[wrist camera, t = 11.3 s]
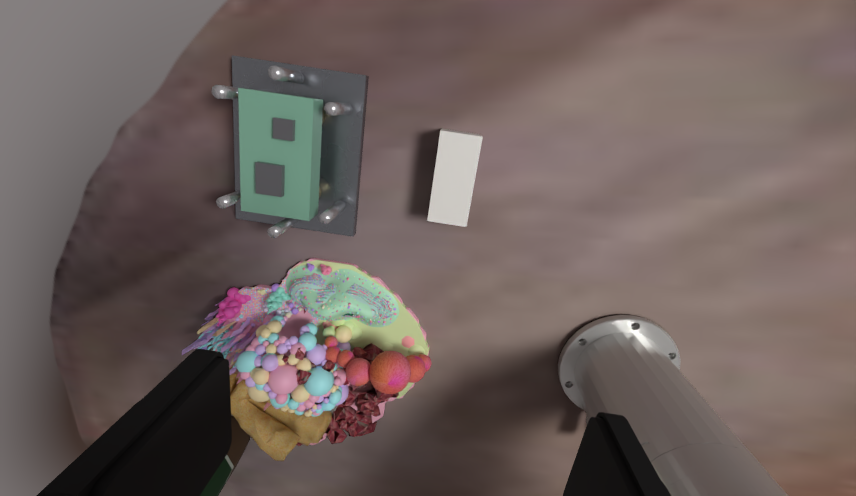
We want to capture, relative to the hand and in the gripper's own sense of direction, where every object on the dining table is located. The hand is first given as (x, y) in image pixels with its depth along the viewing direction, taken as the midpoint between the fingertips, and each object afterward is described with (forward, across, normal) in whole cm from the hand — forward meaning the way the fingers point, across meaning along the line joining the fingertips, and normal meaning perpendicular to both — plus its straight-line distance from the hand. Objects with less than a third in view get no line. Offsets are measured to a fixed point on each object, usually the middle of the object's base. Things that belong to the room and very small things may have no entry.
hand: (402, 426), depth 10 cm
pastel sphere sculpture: (+31, +12, +21) cm, 39 cm away
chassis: (+30, +14, -2) cm, 33 cm away
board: (+27, +14, -2) cm, 30 cm away
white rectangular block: (+30, -1, -2) cm, 30 cm away
